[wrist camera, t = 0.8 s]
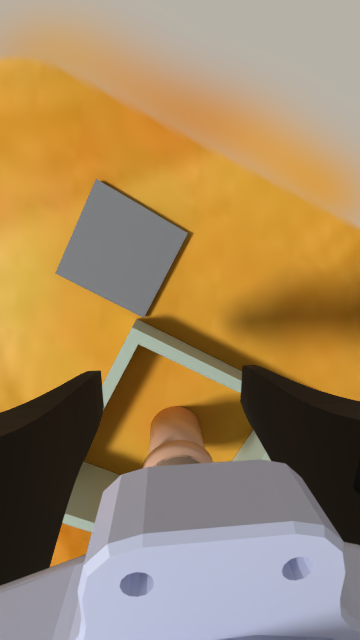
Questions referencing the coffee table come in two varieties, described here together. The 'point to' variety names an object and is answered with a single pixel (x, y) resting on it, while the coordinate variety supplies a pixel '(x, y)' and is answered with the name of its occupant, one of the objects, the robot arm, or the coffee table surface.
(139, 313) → the slate pad
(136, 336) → the frame
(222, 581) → the robot arm
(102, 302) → the coffee table surface
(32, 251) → the coffee table surface
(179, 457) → the terracotta pot
